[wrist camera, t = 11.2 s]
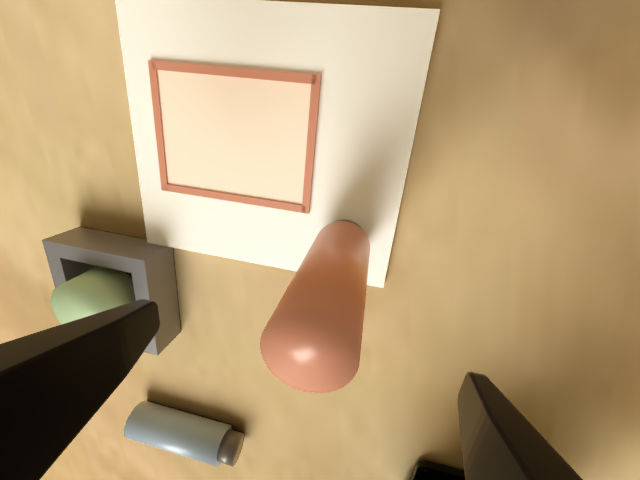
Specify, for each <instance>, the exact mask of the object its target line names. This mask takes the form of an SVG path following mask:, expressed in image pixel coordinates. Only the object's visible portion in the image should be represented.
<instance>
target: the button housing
mask: <svg viewBox="0 0 640 480" xmlns="http://www.w3.org/2000/svg"><path fill="white" fill-rule="evenodd" d="M42 242H43V245H44V249H45V252H46V256H47V260H48V263H49V267H50V271H51V274H52V278H53V281H54V285H55V288H56V287H57V286H59V285H61V284H63V283H65V282H67V281H69V280H71V279H73V278H75V277H77V276H79V275H81V274H83V273H85V272H87V271H89V270H91V269H93V268H94V267H96V266H101V267H106V268H111V269H115V270H120V271H125V272H129V273H131V274H132V280H133V287H134V293H135V299H136V301H137V300H140V299H148V300H152V301H155V302H156V303H157V304H158V309H159V317H160V327H159V330H158V332H157V333H156V335H155V336H154V338H153V339H152V340H151V342H150V343H149V345H148V346H147V348H146V349H145V350H144V352H146V353H150V354H154V355H157V356H158V355H159V353H160V352H161V351H162V350H163V349H164V348H165V347H166V346H167V345H168V344H169V343H170V342H171V341H172V340H173V339H174V338H175V337H176V336H177V335H178V334H179V333H180V332H181V326H180V316H179V306H178V296H177V286H176V276H175V265H174V255H173V247H167V246H162V245H157V244H152V243H147V239H142V238H137V237H131V236H126V235H121V234H116V233H110V232H105V231H100V230H95V229H89V228H84V227H78V228H75V229H72V230H69V231H66V232H63V233H61V234H58V235H55V236H52V237H49V238H46V239H44V240H42Z"/></svg>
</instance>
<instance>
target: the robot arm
mask: <svg viewBox="0 0 640 480" xmlns="http://www.w3.org/2000/svg"><path fill="white" fill-rule="evenodd" d="M159 327H160V317H159V309H158V304H157V303H156V302H155V301H152V300H148V299H140V300H137V301H134V302H131V303H128V304H124V305H121V306H118V307H115V308H112V309H109V310H106V311H102V312H99V313H96V314H93V315H90V316H87V317H84V318H81V319H77V320H74V321H71V322H68V323H65V324H62V325H59V326H56V327H52V328H49V329H46V330H43V331H40V332H37V333H34V334H31V335H27V336H24V337H21V338H18V339H15V340H12V341H9V342H5V343H2V344H0V480H40V479H41V477H42V476H43V475H44V474H45V473H46V471H47V470H48V469H49V468H50V467H51V466H52V464H53V463H54V462H55V461H56V460H57V458H58V457H59V456H60V455H61V454H62V452H63V451H64V450H65V449H66V448H67V446H68V445H69V444H70V443H71V442H72V440H73V439H74V438H75V437H76V436H77V435H78V433H79V432H80V431H81V430H82V429H83V427H84V426H85V425H86V424H87V423H88V421H89V420H90V419H91V418H92V417H93V415H94V414H95V413H96V412H97V411H98V410H99V408H100V407H101V406H102V405H103V404H104V402H105V401H106V400H107V399H108V398H109V396H110V395H111V394H112V393H113V392H114V390H115V389H116V388H117V387H118V386H119V384H120V383H121V382H122V381H123V380H124V378H125V377H126V376H127V374H128V373H129V372H130V370H131V369H132V368H133V366H134V365H135V363H136V362H137V361H138V359H139V358H140V356H141V355H142V353H143V352H144V350H145V349H146V348H147V346H148V345H149V343H150V342H151V340H152V339H153V338H154V336H155V335H156V333H157V332H158V330H159ZM458 412H459V423H460V435H461V446H462V456H463V465H464V471H465V472H463V471H460V470H456V469H452V468H449V467H445V466H441V465H438V464H434V463H431V462H427V461H418V462H417V463H416V466H415V469H414V472H413V475H412V477H411V480H583V479H582V478H581V477H580V476H579V475H578V474H577V473H576V472H575V471H574V470H573V469H572V468H571V467H570V465H569V464H568V463H567V462H566V461H565V460H564V459H563V458H562V457H561V456H560V455H559V454H558V453H557V452H556V450H555V449H554V448H553V447H552V446H551V445H550V444H549V443H548V442H547V441H546V440H545V439H544V438H543V436H542V435H541V434H540V433H539V432H538V431H537V430H536V429H535V428H534V427H533V426H532V425H531V424H530V422H529V421H528V420H527V419H526V418H525V417H524V416H523V415H522V414H521V413H520V412H519V411H518V410H517V409H516V407H515V406H514V405H513V404H512V403H511V402H510V401H509V400H508V399H507V398H506V397H505V396H504V395H503V393H502V392H501V391H500V390H499V389H498V388H497V387H496V386H495V385H494V384H493V383H492V382H491V381H490V380H489V378H488V377H486V376H485V375H483V374H479V373H474V372H468V373H467V374H466V376H465V378H464V381H463V384H462V386H461V389H460V391H459V394H458Z"/></svg>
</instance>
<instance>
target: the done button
mask: <svg viewBox="0 0 640 480" xmlns="http://www.w3.org/2000/svg"><path fill="white" fill-rule="evenodd" d="M134 301H136V299H135V293H134V287H133V280H132V278H131V277H130V276H129V275H128V274H126V273H125V272H124V271H120V270H115V269H111V268H106V267H101V266H96V267H94V268H93V269H91V270H89V271H87V272H85V273H83V274H81V275H79V276H77V277H75V278H73V279H71V280H69V281H67V282H65V283H63V284H61V285H59V286H57V287H56V288H55V289H54V290H53V292H52V295H51V305H52V308H53V311H54V313H55V315H56V317H57V319H58V320H59V321H60V323H61V324H65V323H68V322H71V321H74V320H77V319H81V318H84V317H87V316H90V315H93V314H96V313H99V312H102V311H106V310H109V309H112V308H115V307H118V306H121V305H124V304H128V303H131V302H134Z"/></svg>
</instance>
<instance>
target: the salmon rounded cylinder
mask: <svg viewBox="0 0 640 480" xmlns="http://www.w3.org/2000/svg"><path fill="white" fill-rule="evenodd" d="M369 256H370V242H369V239H368V237H367V235H366V233H365V232H364V231H363V230H362V228H361V227H360V226H359V225H358V224H357V223H355V222H353V221H350V220H338V221H336V222H332V223H330V224H328V225H326V226H325V227H323V228H322V229H321V230H320V232H319V233H318V235H317V237H316V239H315V240H314V242H313V244H312V246H311V247H310V249H309V251H308V253H307V254H306V256H305V258H304V260H303V262H302V263H301V265H300V267H299V269H298V270H297V272H296V274H295V276H294V277H293V279H292V281H291V283H290V285H289V286H288V288H287V290H286V292H285V293H284V295H283V297H282V299H281V300H280V302H279V304H278V306H277V308H276V309H275V311H274V313H273V315H272V316H271V318H270V320H269V322H268V323H267V325H266V327H265V329H264V331H263V333H262V336H261V341H260V349H261V354H262V357H263V360H264V362H265V364H266V365H267V367H268V368H269V370H270V371H271V372H272V373H273V374H274V375H275V376H276V377H277V378H278V379H280V380H281V381H282V382H284V383H285V384H287V385H289V386H291V387H293V388H295V389H298V390H301V391H305V392H311V393H326V392H331V391H335V390H337V389H340V388H342V387H344V386H345V385H346V384H348V383H349V382H350V381H351V380H352V379H353V377H354V376H355V375H356V372H357V370H358V367H359V361H360V351H361V340H362V330H363V319H364V309H365V298H366V288H367V277H368V266H369Z"/></svg>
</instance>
